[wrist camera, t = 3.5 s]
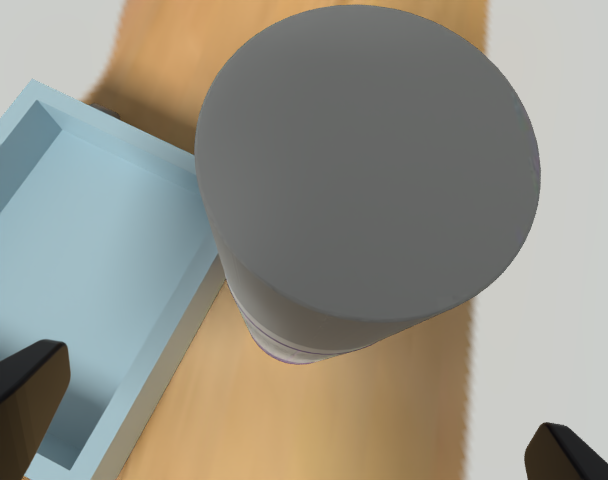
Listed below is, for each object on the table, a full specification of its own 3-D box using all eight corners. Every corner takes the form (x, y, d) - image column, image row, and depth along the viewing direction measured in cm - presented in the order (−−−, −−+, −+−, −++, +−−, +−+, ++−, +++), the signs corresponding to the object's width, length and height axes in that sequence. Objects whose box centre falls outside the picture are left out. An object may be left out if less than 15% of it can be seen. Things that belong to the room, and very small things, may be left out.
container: (330, 244, 21) (460, -35, 7) (367, 343, 20) (618, 261, 6) (231, 276, 20) (141, 37, 6) (264, 380, 19) (249, 395, 5)
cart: (97, 514, 17) (50, 550, 14) (-125, 394, 18) (-224, 398, 14) (272, 193, 22) (272, 156, 18) (87, 106, 22) (52, 53, 19)
